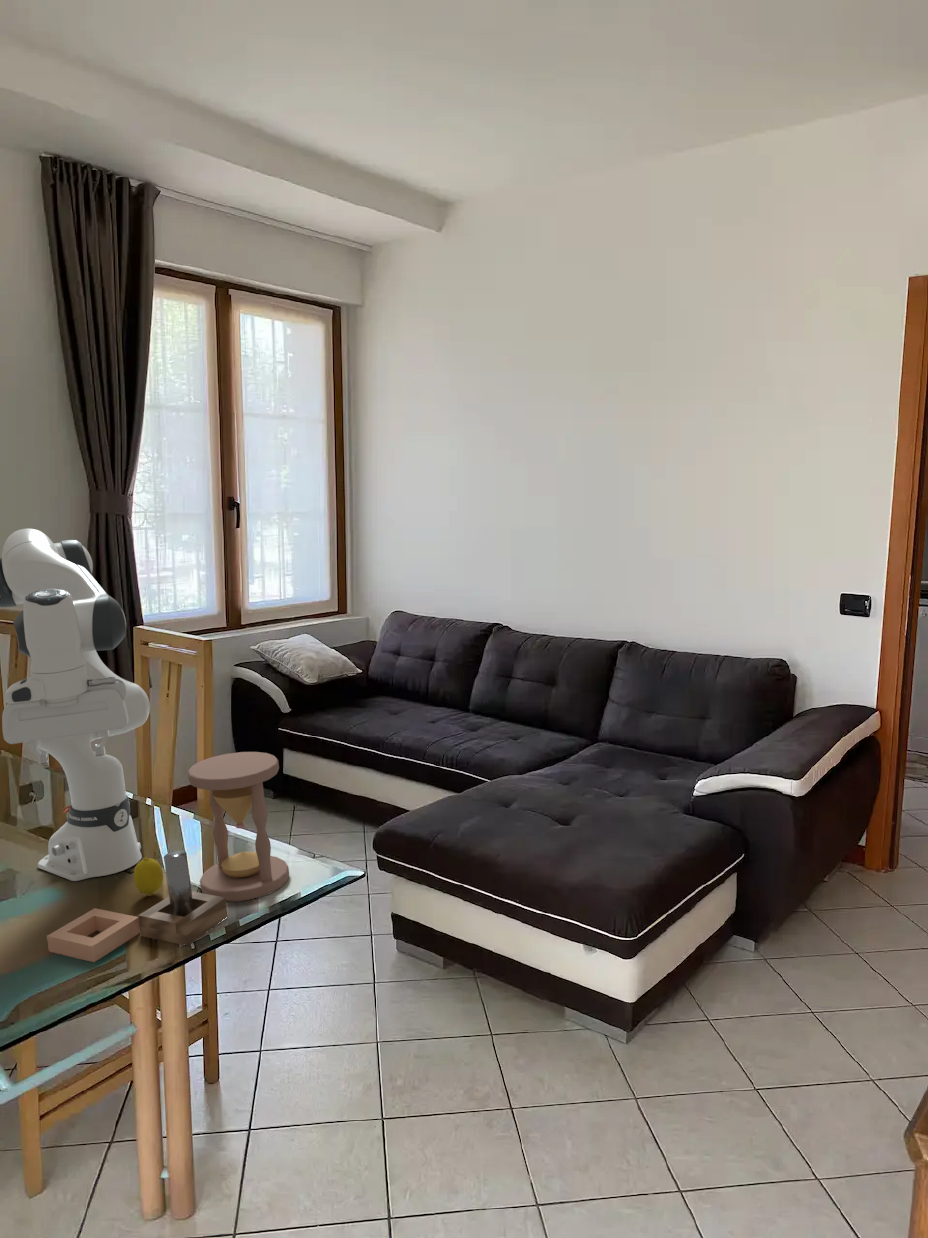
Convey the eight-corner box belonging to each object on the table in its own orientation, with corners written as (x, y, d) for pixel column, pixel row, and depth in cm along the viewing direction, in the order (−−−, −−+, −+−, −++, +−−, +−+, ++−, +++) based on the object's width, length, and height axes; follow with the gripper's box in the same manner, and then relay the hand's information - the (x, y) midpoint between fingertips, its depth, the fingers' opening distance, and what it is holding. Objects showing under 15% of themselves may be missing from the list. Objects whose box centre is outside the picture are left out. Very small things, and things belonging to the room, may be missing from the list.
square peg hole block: (140, 936, 170) (138, 915, 169) (182, 908, 179) (180, 889, 179) (187, 946, 165) (185, 925, 164) (227, 917, 175) (225, 897, 174)
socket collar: (48, 951, 166) (46, 936, 165) (96, 923, 176) (94, 908, 175) (94, 962, 161) (91, 946, 161) (140, 932, 171) (138, 917, 170)
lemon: (164, 898, 184) (160, 860, 183) (135, 903, 183) (130, 865, 181) (165, 887, 189) (161, 850, 188) (136, 892, 188) (132, 854, 187)
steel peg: (167, 920, 171) (158, 858, 169) (182, 909, 174) (174, 849, 172) (184, 923, 169) (176, 861, 167) (199, 912, 173) (191, 852, 171)
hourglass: (305, 881, 189) (294, 762, 184) (226, 911, 177) (213, 786, 173) (262, 857, 202) (251, 746, 198) (186, 884, 190) (173, 767, 186)
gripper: (125, 671, 167) (135, 744, 170) (1, 687, 162) (13, 762, 164) (122, 679, 161) (133, 755, 164) (-6, 695, 156) (7, 774, 159)
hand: (72, 759), depth 164 cm, fingers open, 8 cm apart
